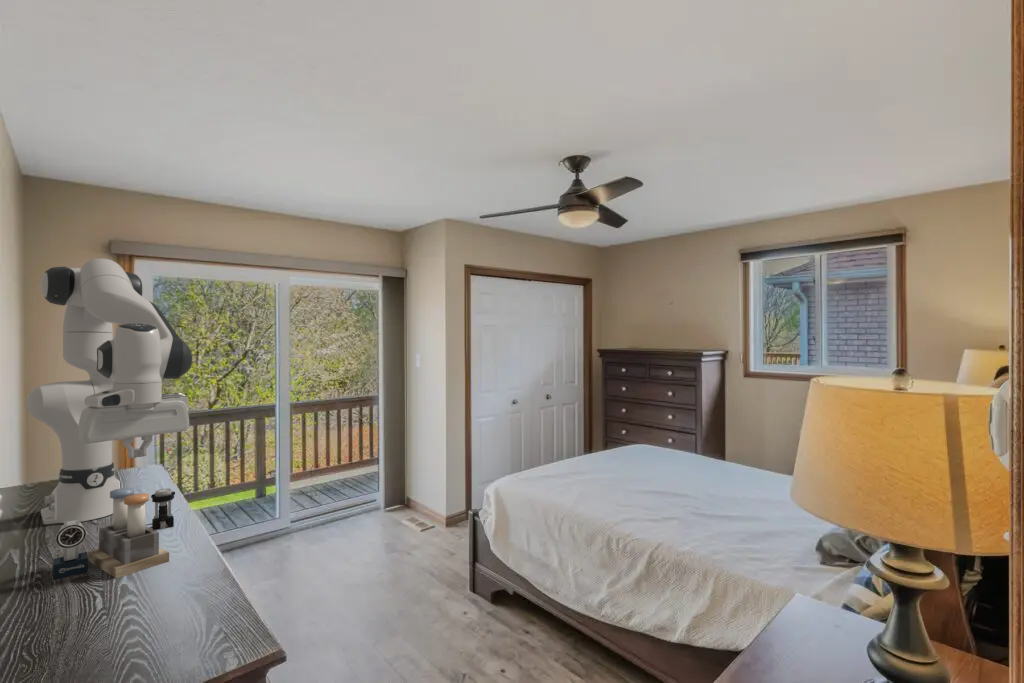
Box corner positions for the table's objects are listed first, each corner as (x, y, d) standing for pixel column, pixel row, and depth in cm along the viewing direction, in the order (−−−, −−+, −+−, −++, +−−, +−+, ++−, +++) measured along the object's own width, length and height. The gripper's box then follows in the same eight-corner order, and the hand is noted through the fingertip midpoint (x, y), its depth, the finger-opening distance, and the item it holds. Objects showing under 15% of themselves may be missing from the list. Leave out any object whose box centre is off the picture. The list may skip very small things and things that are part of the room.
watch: (52, 583, 102) (53, 530, 102) (53, 570, 108) (54, 520, 108) (88, 575, 105) (89, 523, 105) (87, 562, 111) (87, 514, 111)
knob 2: (120, 538, 110) (120, 497, 110) (143, 532, 113) (143, 492, 113) (128, 542, 107) (129, 500, 107) (151, 536, 111) (152, 495, 111)
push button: (144, 533, 128) (145, 495, 129) (144, 527, 133) (144, 490, 133) (175, 528, 133) (175, 491, 133) (174, 522, 137) (174, 486, 137)
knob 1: (106, 530, 114) (106, 491, 114) (129, 525, 118) (129, 486, 118) (113, 534, 112) (114, 494, 112) (136, 528, 115) (137, 489, 115)
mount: (87, 560, 113) (88, 529, 113) (139, 545, 121) (139, 516, 121) (115, 578, 104) (116, 545, 104) (169, 561, 112) (169, 530, 112)
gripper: (182, 391, 121) (181, 447, 121) (75, 398, 104) (74, 464, 104) (194, 392, 118) (194, 450, 117) (86, 400, 100) (85, 468, 100)
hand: (137, 457), depth 110 cm, fingers closed
